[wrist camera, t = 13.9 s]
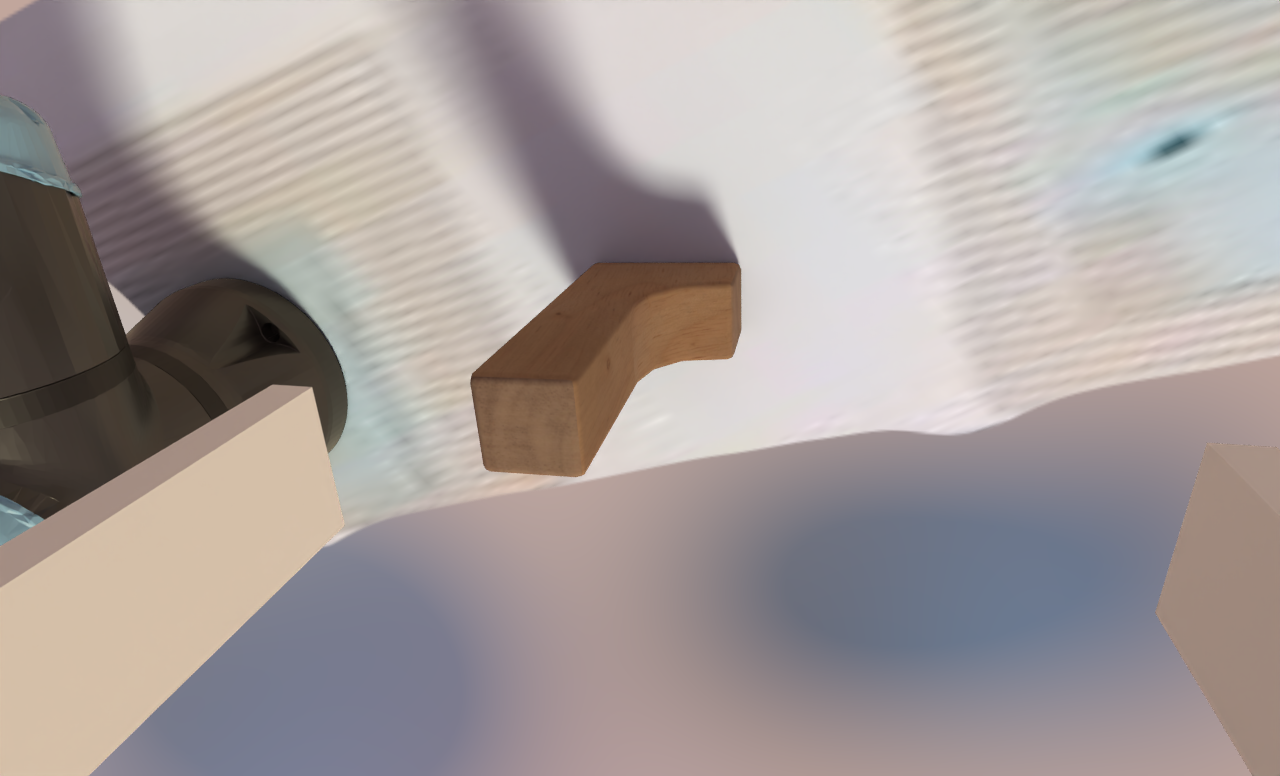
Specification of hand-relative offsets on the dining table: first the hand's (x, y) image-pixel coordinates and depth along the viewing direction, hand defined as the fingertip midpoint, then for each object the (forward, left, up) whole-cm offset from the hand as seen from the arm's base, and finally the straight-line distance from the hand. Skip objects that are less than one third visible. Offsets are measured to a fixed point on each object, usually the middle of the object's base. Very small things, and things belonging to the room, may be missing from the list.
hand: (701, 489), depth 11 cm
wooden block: (-7, -7, -33) cm, 34 cm away
